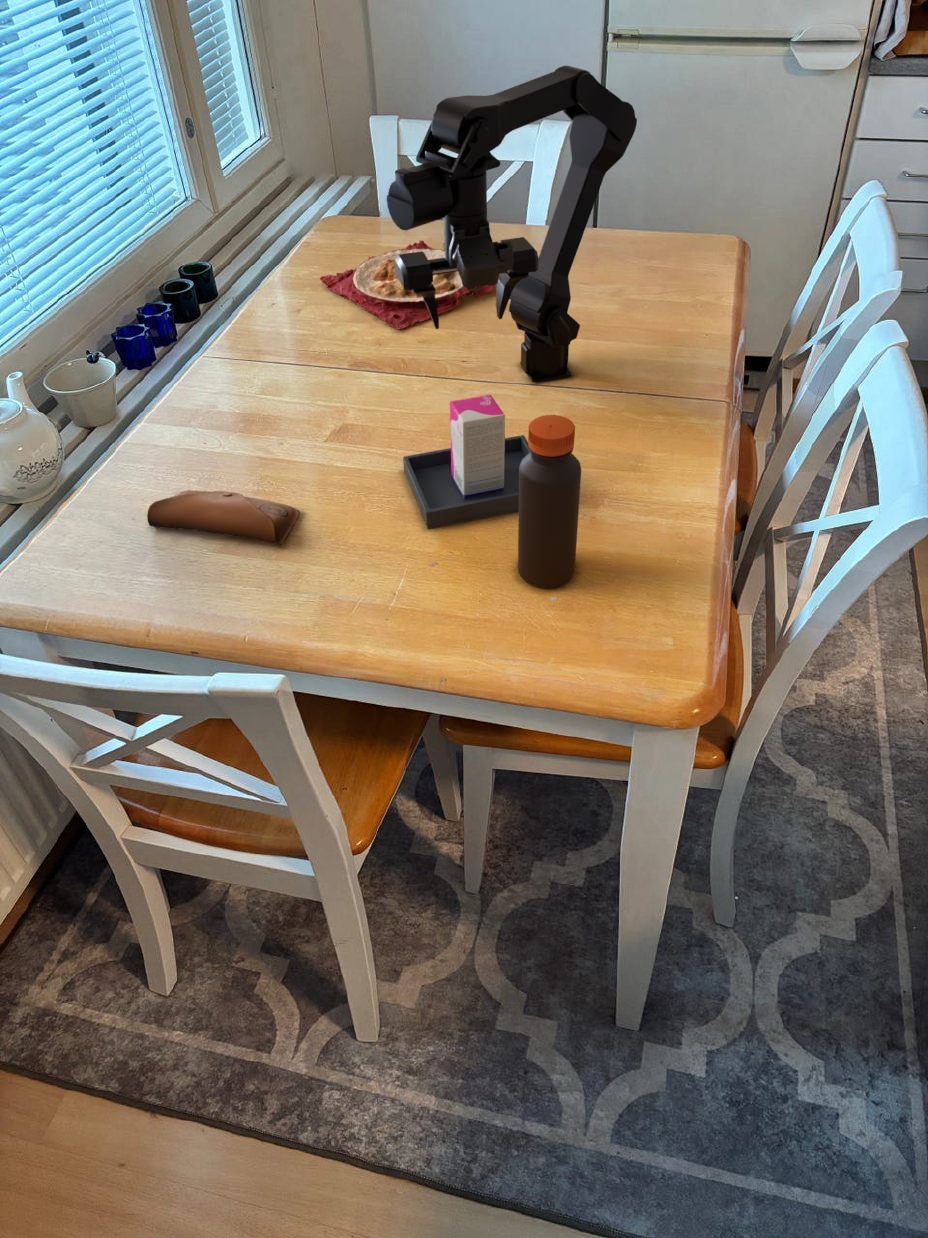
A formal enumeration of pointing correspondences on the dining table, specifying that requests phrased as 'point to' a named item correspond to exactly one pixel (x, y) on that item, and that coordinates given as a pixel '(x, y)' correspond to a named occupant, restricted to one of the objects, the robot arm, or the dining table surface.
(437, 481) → the serving tray
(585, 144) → the robot arm
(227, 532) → the sunglasses case
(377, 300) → the plate with food
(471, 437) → the supplement box
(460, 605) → the dining table surface
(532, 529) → the bottle
